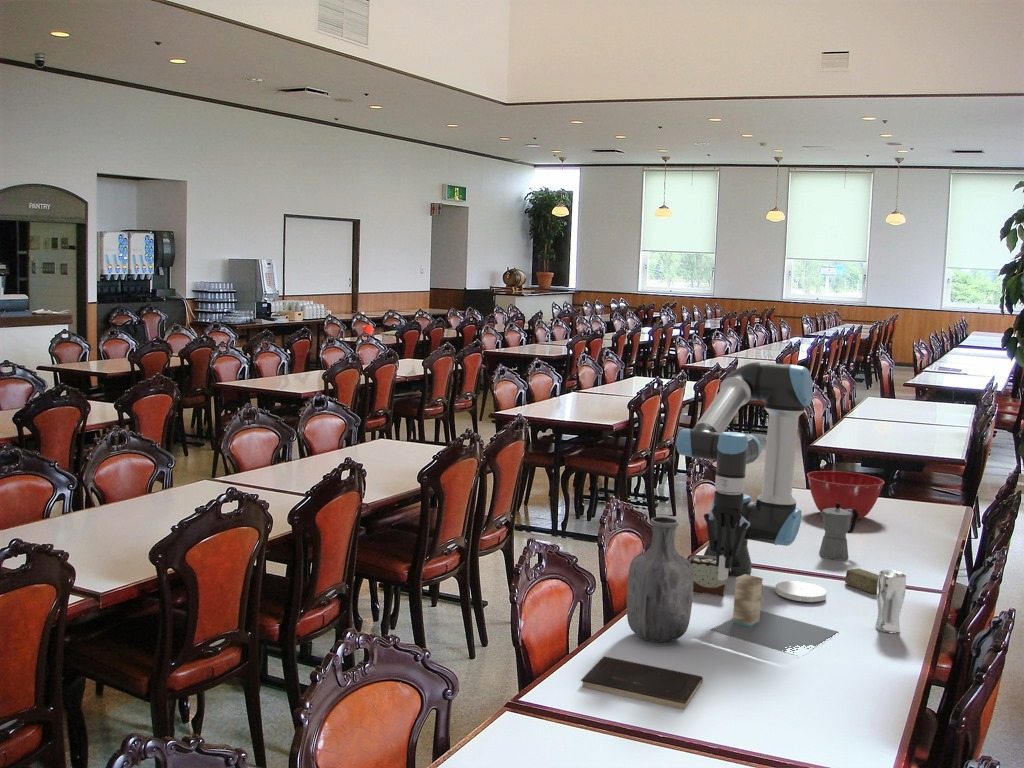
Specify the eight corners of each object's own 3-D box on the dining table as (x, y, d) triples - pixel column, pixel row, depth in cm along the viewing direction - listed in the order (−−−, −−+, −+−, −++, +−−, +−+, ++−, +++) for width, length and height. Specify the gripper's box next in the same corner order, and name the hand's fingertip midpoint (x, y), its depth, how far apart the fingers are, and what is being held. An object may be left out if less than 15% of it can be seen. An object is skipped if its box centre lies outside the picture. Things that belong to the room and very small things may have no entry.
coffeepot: (827, 561, 329) (831, 507, 327) (808, 553, 338) (812, 500, 336) (864, 558, 335) (869, 504, 333) (844, 550, 344) (849, 498, 342)
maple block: (732, 622, 266) (736, 577, 264) (741, 618, 269) (745, 573, 268) (750, 627, 262) (753, 582, 261) (759, 622, 266) (762, 578, 265)
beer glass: (888, 635, 263) (893, 579, 261) (867, 626, 269) (872, 571, 267) (907, 632, 266) (912, 576, 264) (886, 623, 272) (891, 568, 270)
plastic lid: (765, 591, 296) (765, 583, 295) (804, 587, 301) (804, 579, 301) (796, 607, 283) (797, 598, 283) (836, 602, 289) (837, 594, 288)
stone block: (873, 595, 296) (875, 579, 296) (842, 584, 306) (844, 568, 305) (887, 593, 299) (888, 576, 299) (856, 582, 309) (857, 566, 308)
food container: (733, 593, 292) (735, 559, 291) (728, 599, 286) (731, 564, 285) (691, 585, 297) (693, 552, 296) (685, 591, 291) (687, 557, 290)
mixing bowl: (792, 507, 406) (795, 468, 404) (860, 508, 409) (864, 470, 408) (821, 525, 378) (824, 484, 376) (894, 526, 381) (898, 486, 380)
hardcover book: (684, 712, 212) (685, 702, 212) (580, 689, 221) (581, 679, 221) (702, 685, 227) (703, 675, 227) (604, 664, 236) (604, 655, 236)
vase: (674, 655, 242) (682, 532, 239) (613, 640, 250) (620, 520, 247) (699, 636, 256) (707, 519, 252) (641, 622, 264) (648, 508, 261)
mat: (709, 631, 259) (709, 629, 259) (752, 610, 278) (753, 608, 278) (798, 658, 244) (798, 656, 244) (838, 633, 263) (838, 631, 263)
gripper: (700, 489, 268) (693, 576, 271) (745, 498, 260) (738, 588, 263) (714, 485, 274) (707, 570, 277) (758, 494, 266) (751, 582, 268)
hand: (722, 579), depth 270 cm, fingers closed
